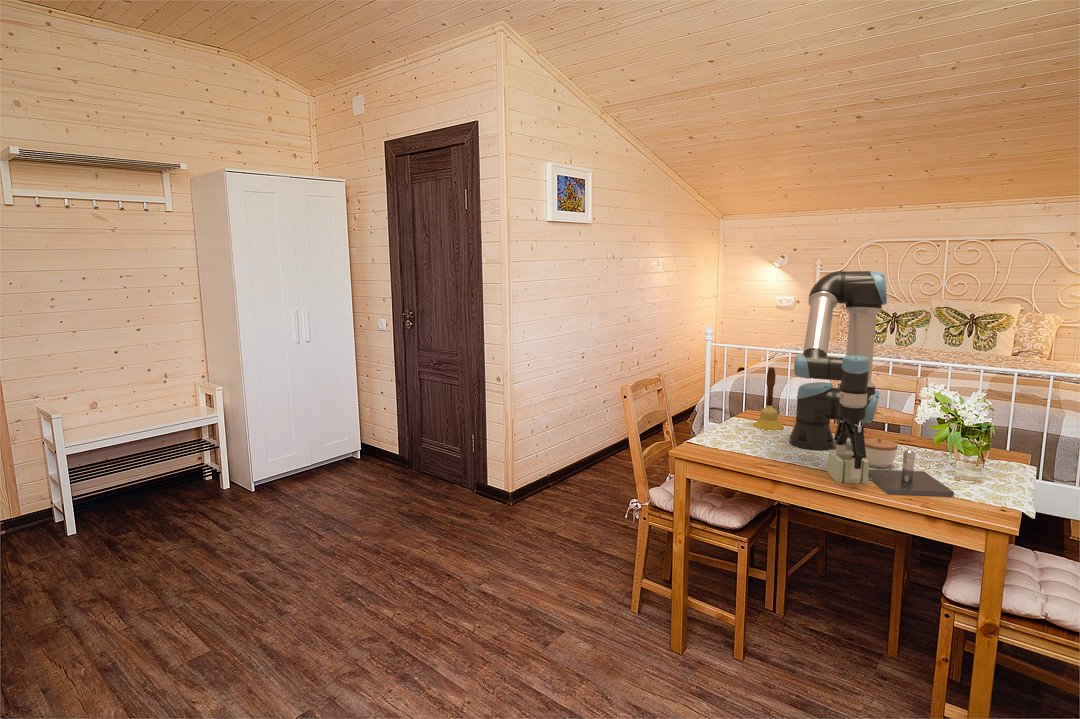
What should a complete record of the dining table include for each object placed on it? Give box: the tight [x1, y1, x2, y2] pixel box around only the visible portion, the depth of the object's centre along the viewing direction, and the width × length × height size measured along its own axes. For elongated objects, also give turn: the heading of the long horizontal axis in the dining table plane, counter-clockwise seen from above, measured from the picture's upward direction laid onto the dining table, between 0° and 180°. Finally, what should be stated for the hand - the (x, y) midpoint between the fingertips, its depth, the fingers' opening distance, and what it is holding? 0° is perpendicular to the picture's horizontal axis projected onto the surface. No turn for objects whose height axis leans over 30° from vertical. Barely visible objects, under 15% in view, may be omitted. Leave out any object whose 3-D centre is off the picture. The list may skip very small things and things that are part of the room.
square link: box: [826, 451, 870, 485], centre depth 194 cm, size 9×9×7 cm
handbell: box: [752, 366, 785, 431], centre depth 254 cm, size 12×12×25 cm
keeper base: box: [868, 449, 955, 498], centre depth 188 cm, size 18×18×11 cm
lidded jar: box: [864, 437, 899, 469], centre depth 207 cm, size 11×11×9 cm
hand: (847, 471), depth 194 cm, fingers open, 13 cm apart
